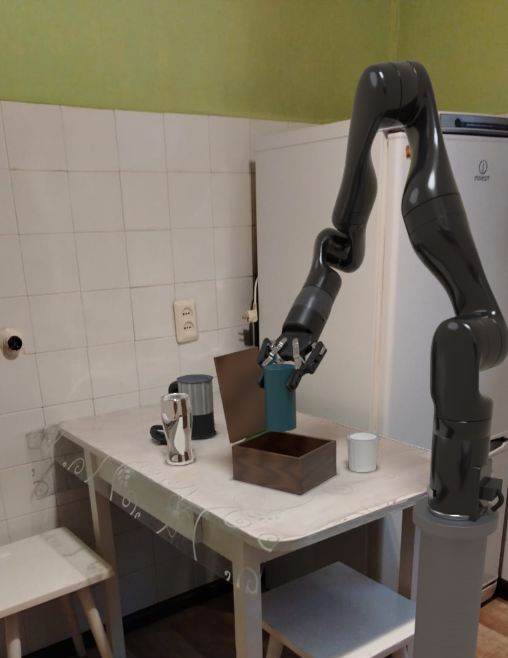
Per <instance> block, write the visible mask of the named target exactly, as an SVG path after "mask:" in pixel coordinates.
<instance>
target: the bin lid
mask: <svg viewBox="0 0 508 658" xmlns="http://www.w3.org/2000/svg"><path fill="white" fill-rule="evenodd" d="M259 352H260V349H259V346H253V347H249V348H245V349H241V350H238V351H237V350H236V351H233V352H229V353H226V354H222V355H217V356H214V357H213V363H214V367H215V373H216V378H217V384H218V389H219V394H220V399H221V403H222V410H223V415H224V420H225V424H226V431H227V435H228V440H229V444H232V445H233V444H236V443H239V442H241V441H243V440H246V438H247V437H249V436H252V435H254V434H257V433H259V432H261V431H264V430H266V417H265V392H264V388H260V386H259V385H258V384H257V378H258V376H259V374H260V372H261V369H262V368H261V367H260V366H259V364H258V363H257V362H256V360H257V357H258V354H259Z"/></svg>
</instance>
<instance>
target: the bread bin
mask: <svg viewBox="0 0 508 658" xmlns="http://www.w3.org/2000/svg"><path fill="white" fill-rule="evenodd" d="M231 460H232V461H231V462H232V477H233V478H232V479H233V480H235V481H240V482H244V483H249V484H252V485H256V486H261V487H265V488H268V489H269V488H270V489H273V490H277V491H282V492H286V493H290V494H294V495H298V496H301V495H303V494H305V493H306V492H308V491H309V490H311V489H314V488H315V487H316V486H319V485H320V484H322V483H323V482H325V481H327V480H329V479H330V478H332V477H334V476H335V475H337V440H335V439H330V438H325V437H317V436H311V435H305V434H301V433H295V432H290V431H286V432H273V431H269V430H268V431H265V432H263V433H261V434H258V435H256V436H254V437H251V438H249V439H246V438H245V439H243V440H241V441H238V442H236V443H234V444H232V445H231Z"/></svg>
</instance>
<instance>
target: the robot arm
mask: <svg viewBox="0 0 508 658" xmlns="http://www.w3.org/2000/svg"><path fill="white" fill-rule="evenodd" d="M433 86H434V85H433V82H432V79H431V75H430V73H429V71H428V69H427V68H426V66H425V65H424V64H423V63H422V61H420V60H416V59H403V60H394V61H392V60H391V61H381V62H375V63H372V64H369V65H367V66H366V67H365V68H364V69H363V70H362V72H361V73H360V75H359V78H358V80H357V83H356V86H355V90H354V95H353V100H352V105H351V112H350V113H351V114H350V121H349V128H348V136H347V143H346V152H345V159H344V168H343V173H342V176H341V177H342V178H341V180H340V185H339V189H338V192H337V195H336V199H335V202H334V204H333V205H334V206H333V209H332V213H331V216H330V218H331V224H332V226H333V227H334V228H333V227H326V228H323V229H321V230H320V231H319V232H318V233H317V235H316V237H315V239H314V241H313V242H314V243H313V246H312V248H313V250H312V257H311V262H310V263H311V264H310V268H309V271H308V273H307V276H306V278H305V281H304V283H303V285H302V287H301V289H300V291H299V293H298V294H297V296H296V297H295V299H294V300H293V303H292V304H291V307H290V309H289V312H288V314H287V315H286V317H285V320H284V321H283V324H282V326H281V333H280V335H279V336H278V337H277V338H276V339H272V340H271V339H270V338H269V337H265V338H264V339H263V340H262V343H261V345H260V349H259V354H258V357H257V360H256V362H257V363H258V364H259V366H260V367H261V368H262V369H261V372H260V374H259V376H258V378H257V384H258V385H259V386H260V388H264V366H267V365H270V363H271V362H272V361H273V360H274V362H273V363H272V364H285V362H293V363H294V365H295V370H292V372H291V374H290V376H289V379H288V381H287V383H286V388H287V390H288V391H289V392H294V390H295V389H296V390H297V389H298V388H299V385H300V382H301V380H302V379H303V377H305V375H308V374H309V375H314V374H315V373H316V371H317V369H318V367H319V366H320V364H321V363H322V361H323V359H324V358H325V355H326V354H327V352H328V349H327V347H326V345H325V344H324V342H323V341H322V340H319V339H320V337H321V336H322V333H323V331H324V329H325V326H326V325H327V322H328V320H329V318H330V315H331V313H332V309H333V306H334V304H335V301H336V299H337V297H338V295H339V293H340V291H341V288H342V284H343V279H342V277H341V275H340V274H339V272H337V271H340V272H342V273H345V274H353V273H355V272H357V271H358V270H359V269H360V268H361V267H362V265H363V263H364V259H365V256H366V244H367V242H366V239H367V238H366V237H367V227H368V223H369V219H370V218H371V217H370V216H371V214H372V211H373V208H374V205H375V202H376V199H377V196H378V187H379V186H378V185H379V184H378V177H377V173H376V170H375V166H374V163H373V158H372V148H373V143H374V141H375V139H376V136H377V134H378V132H379V130H385V129H394V128H400V127H402V129H403V131H404V134H405V136H406V140H407V143H408V148H409V153H410V154H409V155H410V164H409V168H408V173H407V176H406V180H405V183H404V186H403V191H402V196H401V202H400V212H401V213H400V214H401V219H402V220H403V224H404V228H405V231H406V234H407V237H408V240H409V243H410V245H411V248H412V250H413V252H414V254H415V256H416V257H417V258H418V259H419V261H420V262H421V264H423V266H424V267H425V268H426V269H427V270H428V272H429V273H430V274H431V275H432V276H433V277H434V279H436V280H437V281H438V283H439V284H440V285H441V287H442V288H443V290H444V291H445V293H446V295H447V297H448V299H449V301H450V304H451V307H452V310H453V313H454V316H451V317H449V318H446V319H444V320H443V321H441V322H440V323H439V324H438V325H437V327H436V328H435V330H434V332H433V335H432V338H431V344H430V350H429V351H430V352H429V361H430V362H429V393H430V398H431V401H432V404H433V416H432V417H433V420H432V431H431V432H432V434H431V446H430V447H431V448H430V462H429V463H430V467H429V479H428V483H426V489H425V490H426V492H427V494H428V496H427V497H428V503H427V510H428V511H429V512H430V513H431V514H433V515H434V516H437V517H439V518H443V519H447V520H454V521H473V522H476V521H477V520H478V519H479V518H480V517H481V516H483V514H484V513H485V512H486V511H487V510H488V503H489V502H493V501H494V500H495V499H498V500H497V502H496V503H495V504H494V505H493V507H492V508H491V510H492V511H493V512H495V511H496V510H499V509H500V508H501V507H503V505H504V503H505V497H504V496H505V495H504V493H503V482H504V480H503V478H497V477H493V476H492V470H493V462H494V461H493V458H492V457H490V450H491V439H492V438H491V437H492V429H493V420H494V419H493V418H494V417H493V416H494V409H495V403H494V402H495V401H494V400H493V398H492V397H491V396H490V395H488V394H485V393H482V392H481V391H480V373H482V372H484V371H489V370H493V369H496V368H497V367H500V366H501V365H502V364H503V363H504V362H505V360H506V359H507V357H508V325H507V322H506V319H505V317H504V315H503V312H502V310H501V307H500V305H499V303H498V301H497V298H496V296H495V294H494V292H493V290H492V287H491V285H490V283H489V280H488V277H487V275H486V271H485V269H484V266H483V263H482V260H481V258H480V257H481V256H480V253H479V251H478V249H477V245H476V242H475V239H474V237H473V236H474V235H473V233H472V229H471V226H470V222H469V221H470V220H469V218H468V215H467V211H466V208H465V205H464V202H463V199H462V195H461V193H460V190H459V187H458V184H457V182H456V178H455V175H454V171H453V169H452V164H451V161H450V158H449V154H448V151H447V146H446V144H445V139H444V135H443V130H442V125H441V120H440V114H439V110H438V109H439V108H438V105H437V100H436V94H435V90H434V87H433ZM336 270H337V271H336ZM307 356H308V357H307Z"/></svg>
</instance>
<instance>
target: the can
mask: <svg viewBox="0 0 508 658" xmlns="http://www.w3.org/2000/svg"><path fill="white" fill-rule="evenodd" d="M292 370H295V364H292V363H283V364H271V365H267V366H264V392H265V417H266V429H267V430H269V431H273V432H290V431H293V430H296V429H297V428H298V427H297V425H298V424H297V388H296V389H295V390H294V392H289V391H288V390H287V388H286V383H287V381H288V379H289V376H290V374H291V372H292Z"/></svg>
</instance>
